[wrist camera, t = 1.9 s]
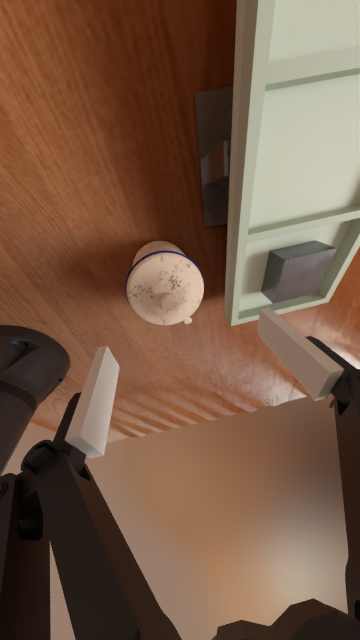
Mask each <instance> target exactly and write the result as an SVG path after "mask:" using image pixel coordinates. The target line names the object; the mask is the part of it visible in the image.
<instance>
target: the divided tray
mask: <svg viewBox="0 0 360 640" xmlns="http://www.w3.org/2000/svg"><path fill="white" fill-rule="evenodd" d="M315 240H316V241H319V242H321V243H324V244H327V245H330V246H332V247H335V248H337V249H336V251H335V253H334V255H333V257H332V259H331V261H330V264H329V266H328V268H327V270H326V272H325V274H324V276H323V278H322V280H321V282H320V285H319V287H318V289H317V291H316V293H315V294H311V295H307V296H303V297H299V298H294V299H290V300H286V301H282V302H278V303H274V304H273V303H272V302H271V301H270V300H269V299H268V298H267V297H266V296H265V295H263V294H262V293H261V289H262V284H263V279H264V274H265V270H266V265H267V260H268V256H269V251H271V250H275V249H280V248H284V247H288V246H293V245H297V244H301V243H306V242H310V241H315ZM359 246H360V0H237V13H236V37H235V62H234V86H233V110H232V134H231V159H230V183H229V207H228V231H227V256H226V280H225V304H224V315H225V317H226V319H227V320H228V322H229V324H230V325H231V326H233V325H238V324H242V323H246V322H250V321H254V320H258V319H259V315H260V309H264V308H270V309H271V310H273V311H274V312H275V313H276V314H282V313H286V312H290V311H294V310H298V309H302V308H306V307H311V306H315V305H319V304H323V303H327V302H328V301H329V300H330V298H331V296H332V294H333V293H334V291H335V289H336V287H337V285H338V284H339V282H340V280H341V278H342V277H343V275H344V273H345V271H346V269H347V268H348V266H349V264H350V262H351V261H352V259H353V257H354V255H355V253H356V252H357V250H358V248H359Z"/></svg>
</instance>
